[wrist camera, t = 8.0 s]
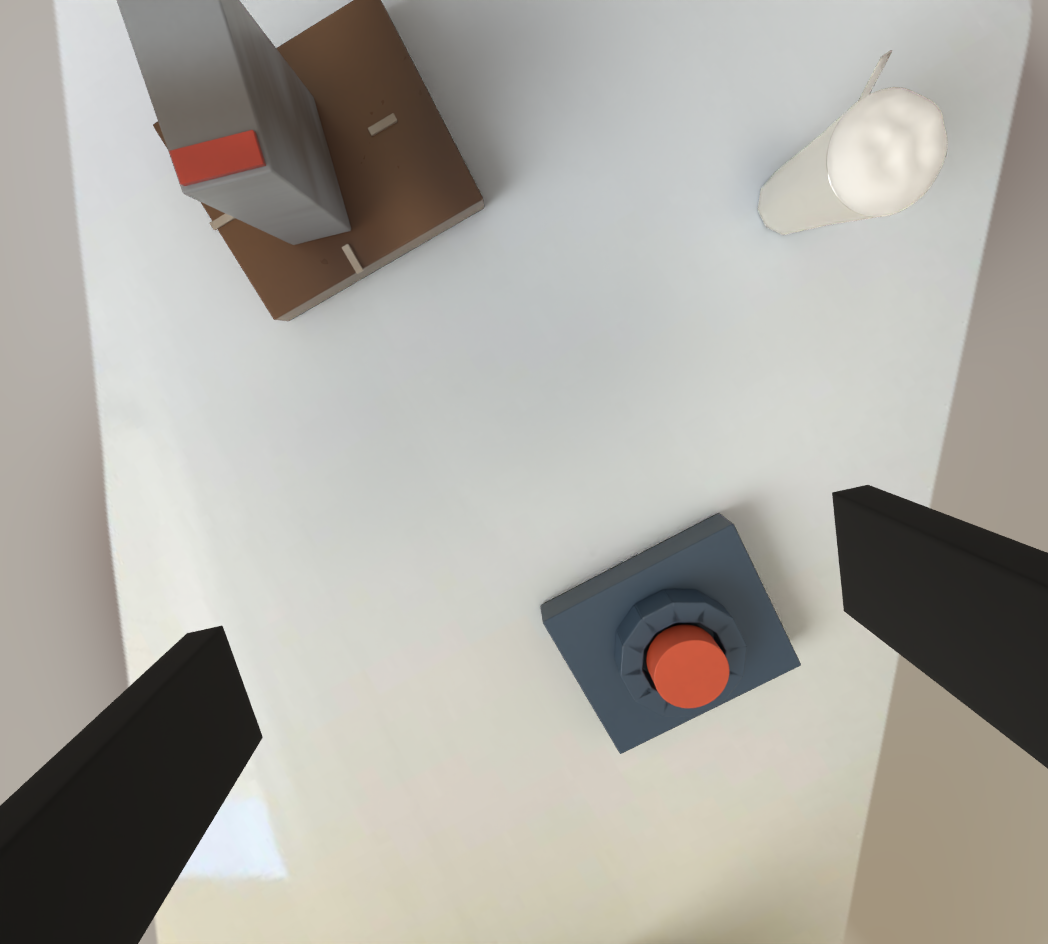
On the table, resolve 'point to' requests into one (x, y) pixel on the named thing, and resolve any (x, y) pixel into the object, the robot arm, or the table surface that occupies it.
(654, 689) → the button block
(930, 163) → the milkshake
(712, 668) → the button
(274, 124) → the grey slab
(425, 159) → the panel
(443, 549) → the table surface
